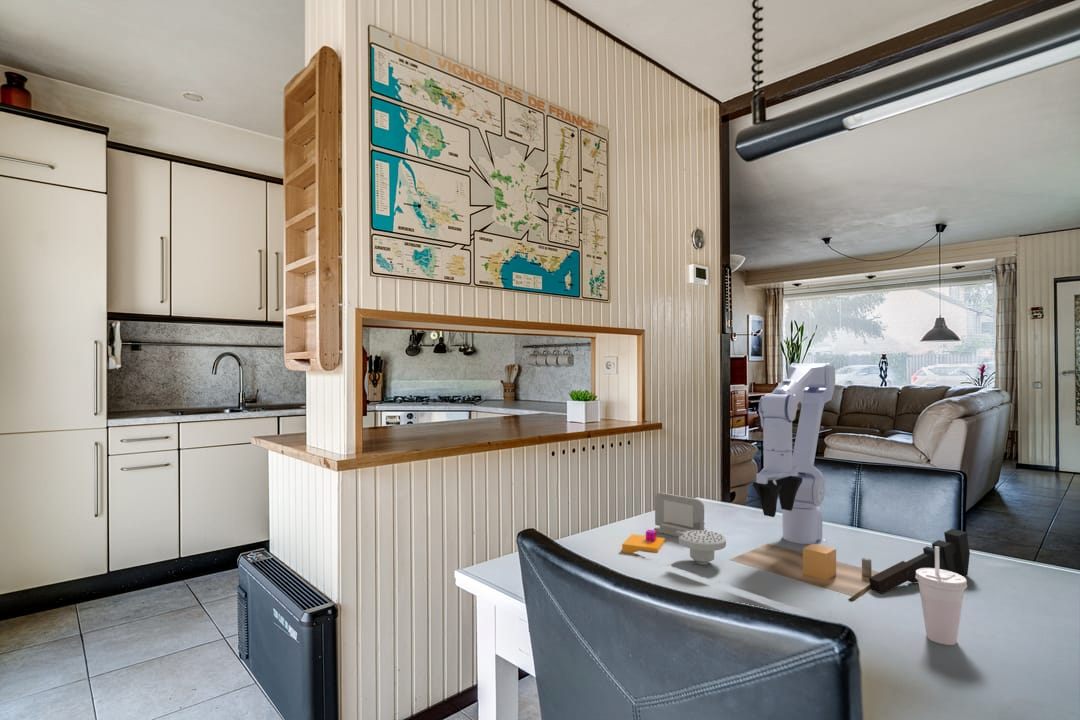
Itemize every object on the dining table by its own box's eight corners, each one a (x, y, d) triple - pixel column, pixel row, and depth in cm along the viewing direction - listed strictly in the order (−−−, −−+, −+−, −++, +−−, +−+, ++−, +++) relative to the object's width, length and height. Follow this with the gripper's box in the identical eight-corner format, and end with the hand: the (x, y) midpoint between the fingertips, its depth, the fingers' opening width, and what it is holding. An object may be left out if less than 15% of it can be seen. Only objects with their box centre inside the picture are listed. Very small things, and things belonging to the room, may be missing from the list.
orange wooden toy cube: (813, 568, 111) (812, 543, 111) (836, 574, 107) (836, 548, 107) (803, 573, 108) (802, 547, 108) (826, 580, 105) (826, 553, 105)
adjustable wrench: (873, 613, 103) (958, 568, 112) (886, 620, 101) (972, 572, 110) (866, 571, 103) (952, 528, 112) (879, 576, 100) (966, 532, 109)
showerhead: (674, 524, 120) (723, 526, 118) (675, 557, 120) (723, 560, 118) (676, 537, 111) (728, 540, 109) (676, 573, 111) (729, 577, 109)
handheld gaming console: (720, 535, 136) (719, 494, 136) (701, 543, 130) (701, 501, 130) (673, 524, 145) (672, 486, 146) (653, 532, 139) (653, 492, 139)
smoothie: (905, 629, 87) (905, 540, 87) (943, 628, 88) (943, 539, 88) (938, 650, 81) (937, 554, 81) (979, 648, 81) (978, 553, 81)
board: (767, 548, 126) (767, 529, 126) (885, 578, 108) (885, 557, 108) (729, 564, 116) (729, 544, 116) (852, 601, 97) (852, 577, 97)
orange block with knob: (657, 558, 120) (657, 539, 121) (622, 553, 124) (622, 534, 124) (665, 547, 128) (665, 529, 128) (631, 543, 131) (631, 525, 131)
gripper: (779, 455, 112) (779, 522, 111) (811, 448, 121) (812, 510, 121) (746, 451, 117) (747, 515, 117) (780, 444, 126) (780, 504, 126)
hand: (778, 512), depth 119 cm, fingers open, 7 cm apart
